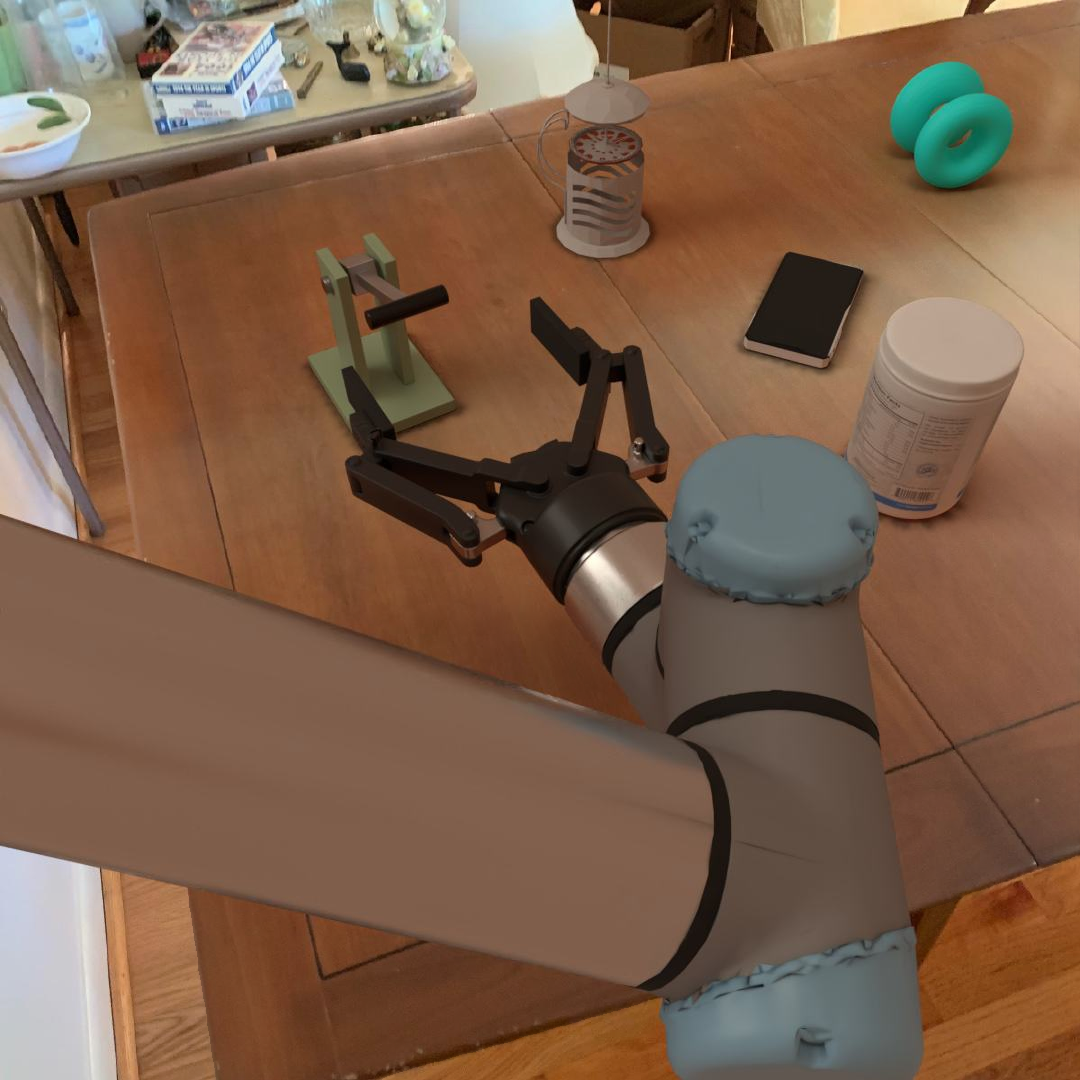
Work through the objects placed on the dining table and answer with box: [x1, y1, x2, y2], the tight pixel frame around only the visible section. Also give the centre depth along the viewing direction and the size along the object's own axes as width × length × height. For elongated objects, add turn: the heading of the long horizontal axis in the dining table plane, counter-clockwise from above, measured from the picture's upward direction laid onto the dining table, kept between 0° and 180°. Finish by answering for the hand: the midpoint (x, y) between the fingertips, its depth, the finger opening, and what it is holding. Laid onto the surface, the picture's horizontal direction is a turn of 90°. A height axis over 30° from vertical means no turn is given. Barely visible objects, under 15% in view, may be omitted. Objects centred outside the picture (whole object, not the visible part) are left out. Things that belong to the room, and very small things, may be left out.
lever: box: [337, 252, 450, 331], centre depth 74 cm, size 13×6×2 cm, turn 29°
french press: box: [535, 0, 651, 259], centre depth 92 cm, size 10×12×25 cm
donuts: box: [889, 61, 1014, 189], centre depth 104 cm, size 10×10×10 cm
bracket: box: [307, 232, 457, 435], centre depth 82 cm, size 12×9×14 cm
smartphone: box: [742, 251, 865, 369], centre depth 92 cm, size 8×1×15 cm
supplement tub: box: [843, 296, 1025, 520], centre depth 73 cm, size 10×10×15 cm
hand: (445, 347), depth 64 cm, fingers open, 13 cm apart
